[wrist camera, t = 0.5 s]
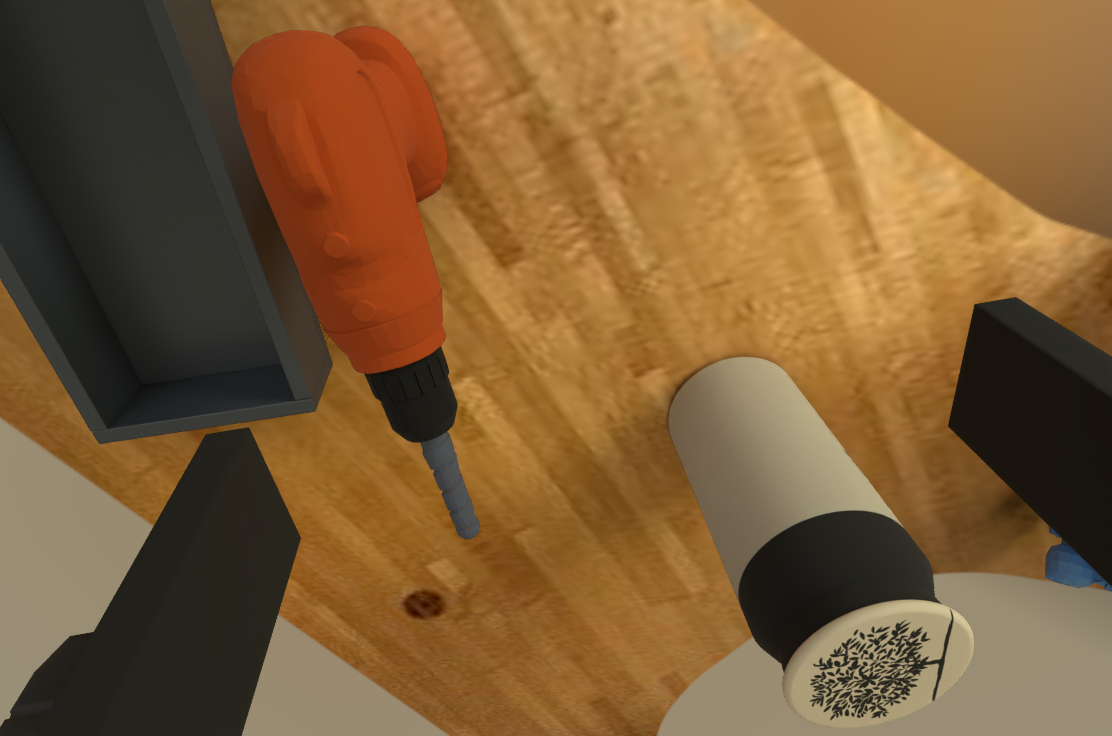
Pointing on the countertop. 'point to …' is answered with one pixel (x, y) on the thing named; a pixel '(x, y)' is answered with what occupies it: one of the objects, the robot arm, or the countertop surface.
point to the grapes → (1070, 567)
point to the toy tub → (145, 222)
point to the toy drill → (361, 215)
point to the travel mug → (813, 551)
